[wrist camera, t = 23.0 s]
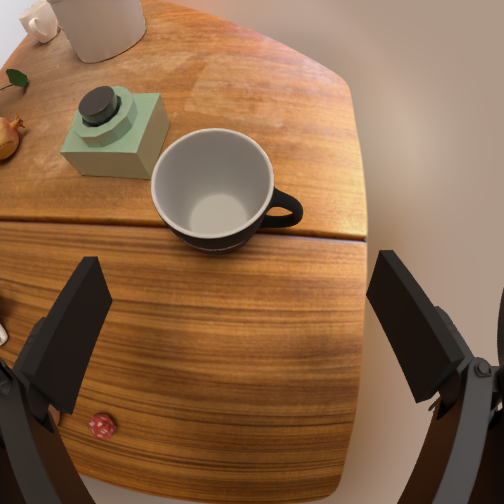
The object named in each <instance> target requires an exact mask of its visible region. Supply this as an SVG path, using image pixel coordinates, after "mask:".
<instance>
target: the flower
mask: <svg viewBox="0 0 504 504" xmlns="http://www.w3.org/2000/svg"><path fill="white" fill-rule="evenodd" d="M6 73H7V75H8V77H9V81H10V83H12V85H15V86H20V87H23V86H24V87H25V85H27V76H26V75H24V74H23V73H21V72H20V71H18V70H14V69H7V70H6ZM12 85H9V86H12ZM9 86H6V87H9ZM6 87H4V88H2V89H5V88H6ZM2 89H0V90H2ZM3 91H4V90H3Z"/></svg>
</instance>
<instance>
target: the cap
mask: <svg viewBox="0 0 504 504" xmlns="http://www.w3.org/2000/svg"><path fill="white" fill-rule="evenodd" d="M119 109H120V103H119V101H118V99H117V96H116V94H115V92H114V90H113V89H112V88H111V87H109V86H102V87H98V88H96V89H94V90H92V91H90V92H89V93H88V94H87V95H86V96H85V97H84V98H83V99H82V100H81V102H80V104H79V113H80V114H81V116H82V117H83V119H84V120H85V122H86V123H87V124H88V125H89V126H91V127H99V126H101V125H103V124H105V123H107V122H109V121H110V120H111V119H112V118H113V117H114V116H115V115H116V114H117V113H118V111H119Z"/></svg>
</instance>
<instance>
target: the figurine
mask: <svg viewBox="0 0 504 504" xmlns="http://www.w3.org/2000/svg"><path fill="white" fill-rule="evenodd" d="M7 338H8V336H7V334H6V332H5V330H4V328H3V327H2V325H1V324H0V345H2V344H3V343H5V342H6V340H7Z"/></svg>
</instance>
